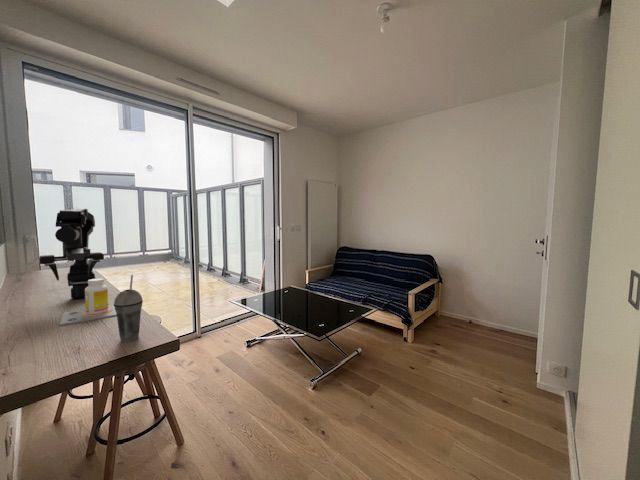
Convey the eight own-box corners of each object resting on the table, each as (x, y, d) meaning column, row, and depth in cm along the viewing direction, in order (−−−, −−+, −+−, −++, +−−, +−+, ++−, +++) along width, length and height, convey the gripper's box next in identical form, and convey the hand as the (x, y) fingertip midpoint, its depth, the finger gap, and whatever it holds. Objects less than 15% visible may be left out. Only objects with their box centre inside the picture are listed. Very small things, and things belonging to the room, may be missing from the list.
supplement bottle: (112, 308, 103) (111, 277, 102) (100, 314, 96) (99, 281, 95) (93, 309, 102) (92, 277, 101) (80, 315, 95) (79, 281, 94)
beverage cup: (109, 341, 77) (107, 276, 76) (134, 332, 84) (132, 272, 83) (124, 346, 74) (122, 279, 73) (149, 336, 81) (147, 274, 80)
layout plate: (116, 305, 108) (116, 304, 108) (118, 315, 98) (118, 313, 98) (63, 314, 97) (63, 312, 97) (59, 326, 87) (59, 324, 87)
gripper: (40, 243, 91) (42, 285, 92) (106, 241, 106) (107, 278, 107) (37, 241, 98) (39, 281, 99) (100, 239, 113) (101, 274, 114)
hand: (73, 278), depth 105 cm, fingers open, 9 cm apart
